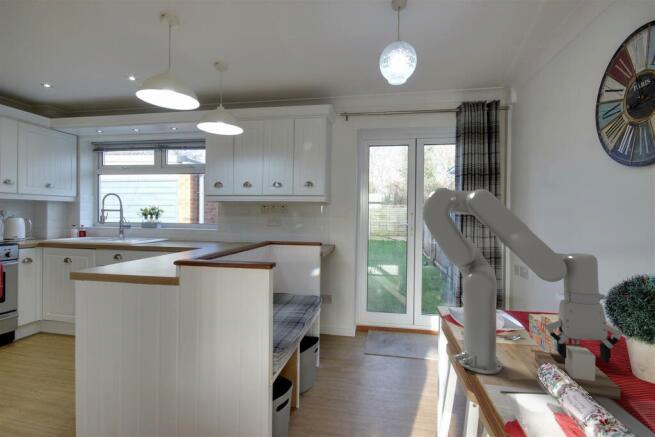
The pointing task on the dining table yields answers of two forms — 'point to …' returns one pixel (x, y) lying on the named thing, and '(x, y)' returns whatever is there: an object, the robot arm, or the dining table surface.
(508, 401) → the dining table surface
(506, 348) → the dining table surface
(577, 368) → the cream block
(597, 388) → the walnut puzzle board
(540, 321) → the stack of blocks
